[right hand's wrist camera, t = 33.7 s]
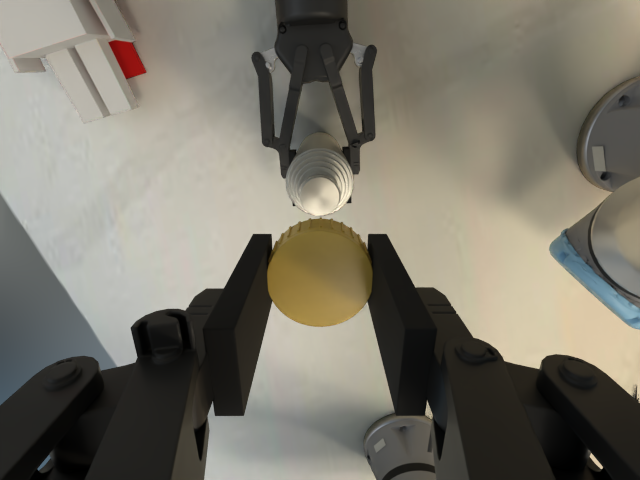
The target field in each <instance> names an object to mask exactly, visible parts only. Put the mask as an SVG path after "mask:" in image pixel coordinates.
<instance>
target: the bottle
mask: <svg viewBox="0 0 640 480" xmlns="http://www.w3.org/2000/svg"><path fill="white" fill-rule="evenodd" d="M353 186H354V178H353V173H352V170H351V167H350V165H349V163H348V162H347V160H346V158H345V156H344V154H343V152H342V150H341V148H340V146H339V144H338V143H337V141H336V140H335V139H334V138H333V137H332V136H331V135H329V134H327V133H322V132H317V133H313V134H311V135H309V136H308V137H306V138H305V139H304V141H303V142H302V144H301V146H300V148H299V149H298V151H297V153H296V155H295V157H294V159H293V161H292V163H291V165H290V167H289V169H288V171H287V175H286V188H287V192H288V195H289V197H290V199H291V200H292V202H293V203H294V204H295V205H296V206H297V207H298V208H299V209H300V210H302V211H304V212H306V213H308V214H311V215H315V216H325V215H328V214H331V213H334V212H336V211H338V210H339V209H340V208H342V207H343V206H344V205H345V204H346V203H347V201H348V200H349V198H350V196H351V194H352V191H353Z"/></svg>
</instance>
